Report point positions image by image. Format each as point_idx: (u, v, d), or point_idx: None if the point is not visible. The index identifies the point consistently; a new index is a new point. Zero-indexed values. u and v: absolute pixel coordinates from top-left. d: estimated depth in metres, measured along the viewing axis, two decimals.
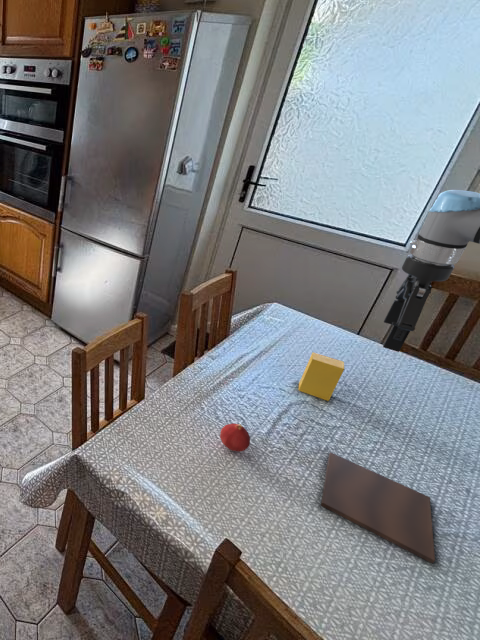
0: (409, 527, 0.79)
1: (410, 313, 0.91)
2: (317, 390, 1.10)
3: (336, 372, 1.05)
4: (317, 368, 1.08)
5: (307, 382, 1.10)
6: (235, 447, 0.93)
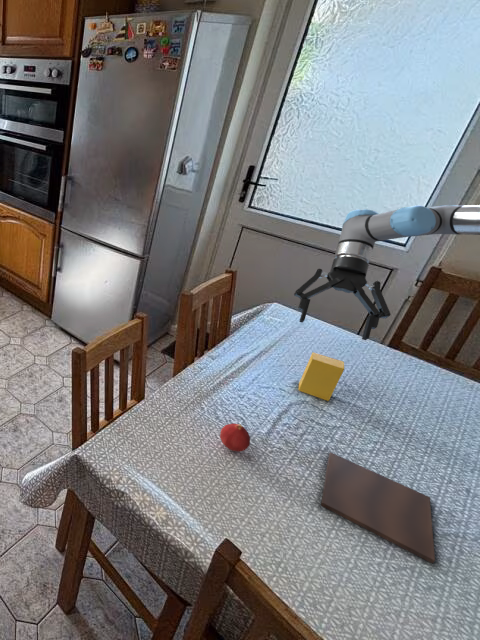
0: (409, 527, 0.79)
1: None
2: (317, 390, 1.10)
3: (336, 372, 1.05)
4: (317, 368, 1.08)
5: (307, 382, 1.10)
6: (235, 447, 0.93)
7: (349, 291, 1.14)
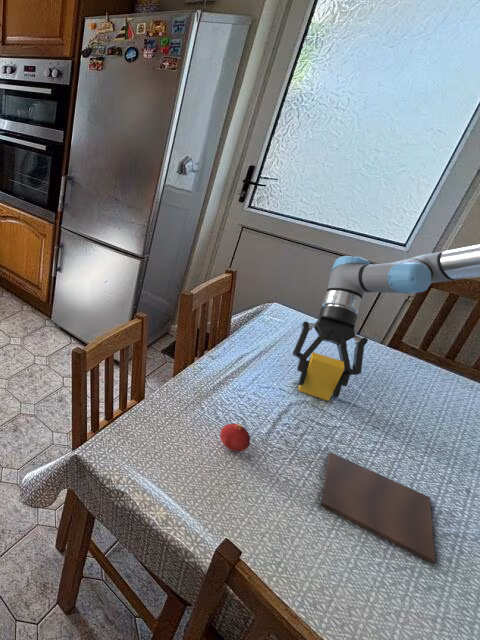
0: (409, 527, 0.79)
1: (297, 342, 1.14)
2: (317, 390, 1.10)
3: (336, 372, 1.05)
4: (317, 368, 1.08)
5: (307, 382, 1.10)
6: (235, 447, 0.93)
7: (337, 343, 1.10)
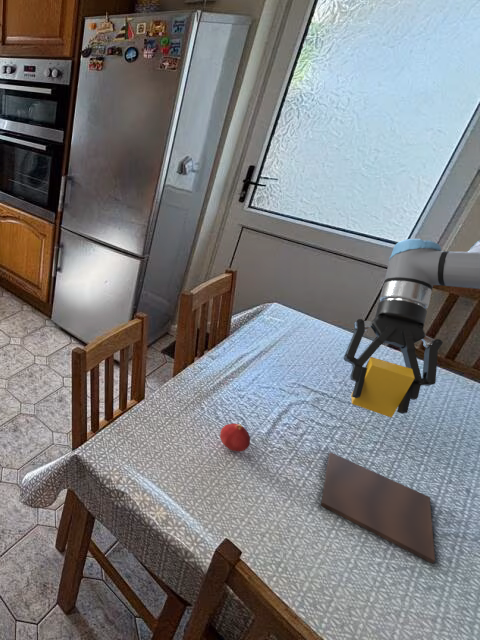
0: (409, 527, 0.79)
1: (349, 344, 0.93)
2: (377, 404, 0.88)
3: (403, 382, 0.84)
4: (378, 377, 0.87)
5: (364, 394, 0.89)
6: (235, 447, 0.93)
7: (401, 346, 0.88)
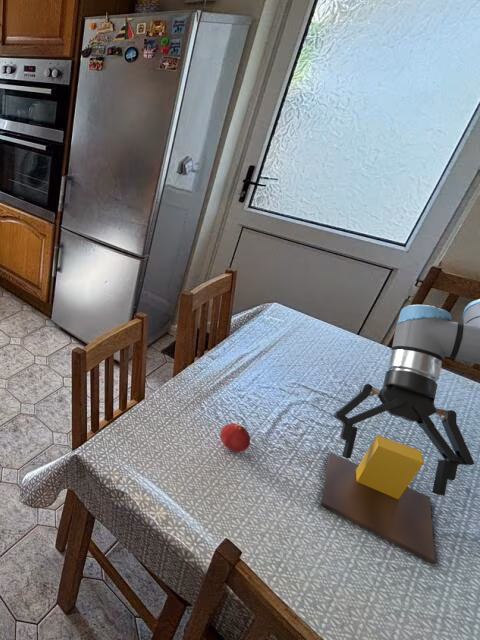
0: (409, 527, 0.79)
1: (346, 404, 0.90)
2: (383, 485, 0.84)
3: (411, 465, 0.80)
4: (384, 458, 0.83)
5: (370, 474, 0.85)
6: (235, 447, 0.93)
7: (411, 420, 0.84)
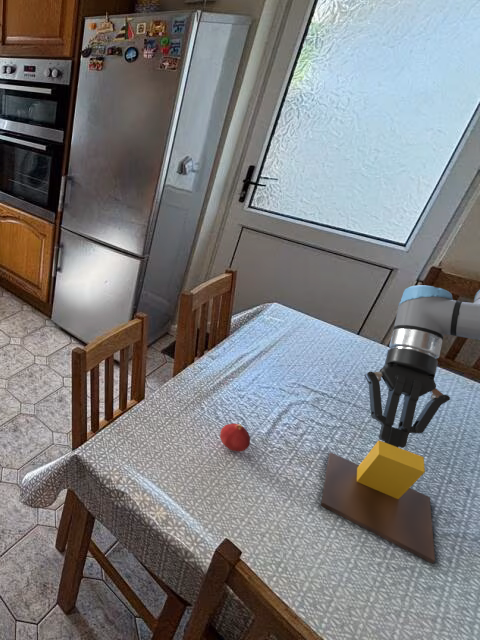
0: (409, 527, 0.79)
1: (371, 400, 0.90)
2: (383, 486, 0.84)
3: (412, 473, 0.79)
4: (385, 464, 0.81)
5: (370, 476, 0.85)
6: (235, 447, 0.93)
7: None
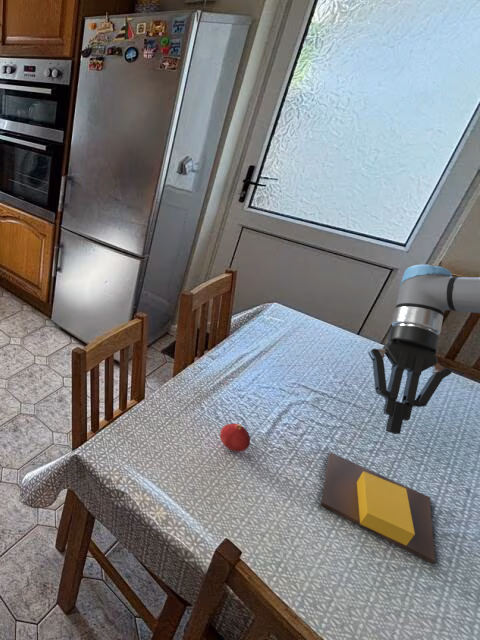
0: None
1: (375, 376, 0.93)
2: None
3: None
4: None
5: None
6: (235, 447, 0.93)
7: None
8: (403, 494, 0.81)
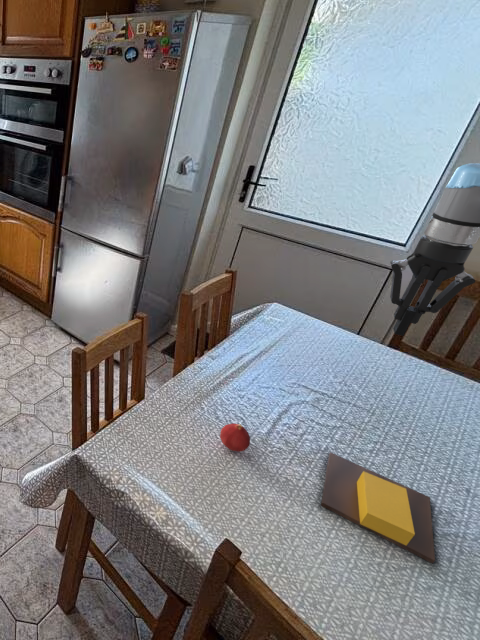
0: None
1: (392, 286, 0.94)
2: None
3: None
4: None
5: None
6: (235, 447, 0.93)
7: None
8: (403, 494, 0.81)
